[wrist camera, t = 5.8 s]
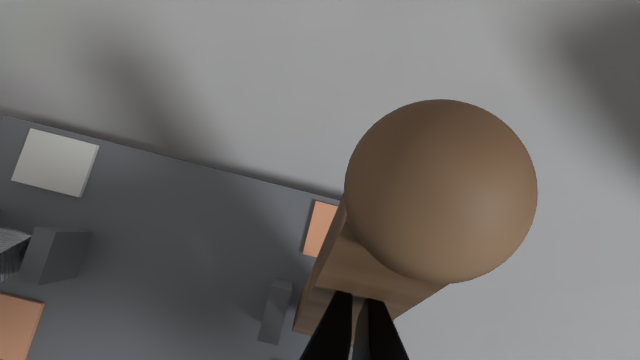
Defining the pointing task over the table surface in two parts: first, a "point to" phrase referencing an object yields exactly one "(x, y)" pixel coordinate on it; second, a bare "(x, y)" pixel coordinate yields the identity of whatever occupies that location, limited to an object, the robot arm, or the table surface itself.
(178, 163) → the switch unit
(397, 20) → the table surface
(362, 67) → the table surface
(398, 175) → the walnut lever
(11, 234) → the steel lever
